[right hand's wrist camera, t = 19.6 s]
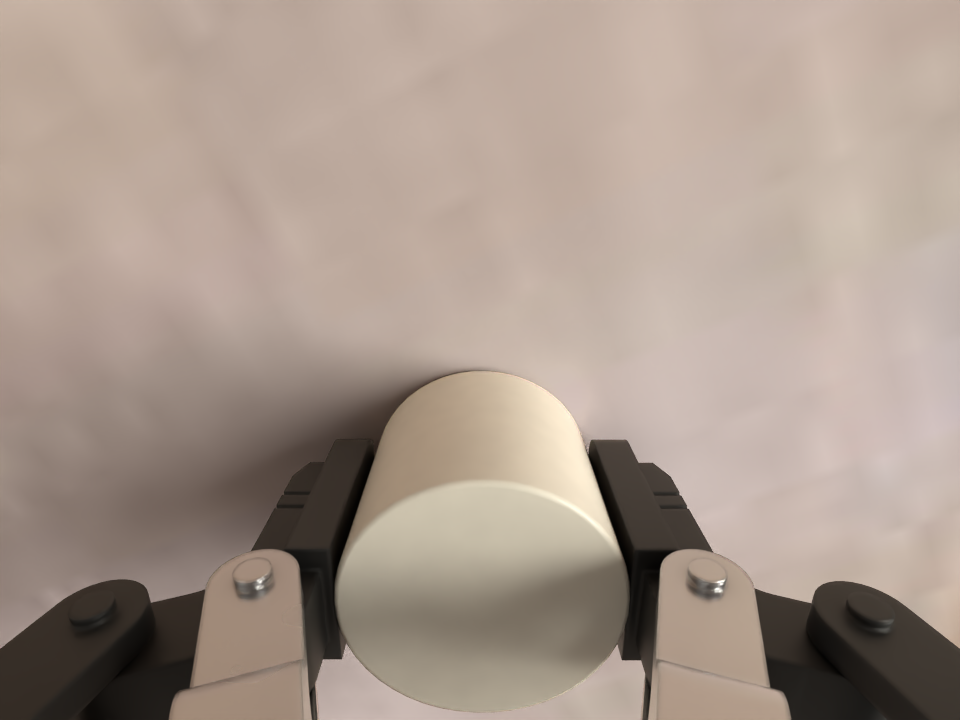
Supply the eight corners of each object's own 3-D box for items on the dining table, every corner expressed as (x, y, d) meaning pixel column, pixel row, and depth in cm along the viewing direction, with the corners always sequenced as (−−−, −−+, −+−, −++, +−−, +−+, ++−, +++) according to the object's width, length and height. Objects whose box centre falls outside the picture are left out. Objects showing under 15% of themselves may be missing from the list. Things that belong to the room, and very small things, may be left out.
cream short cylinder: (339, 424, 12) (272, 556, 8) (531, 333, 12) (558, 431, 8) (439, 575, 14) (423, 747, 10) (616, 503, 13) (675, 659, 9)
